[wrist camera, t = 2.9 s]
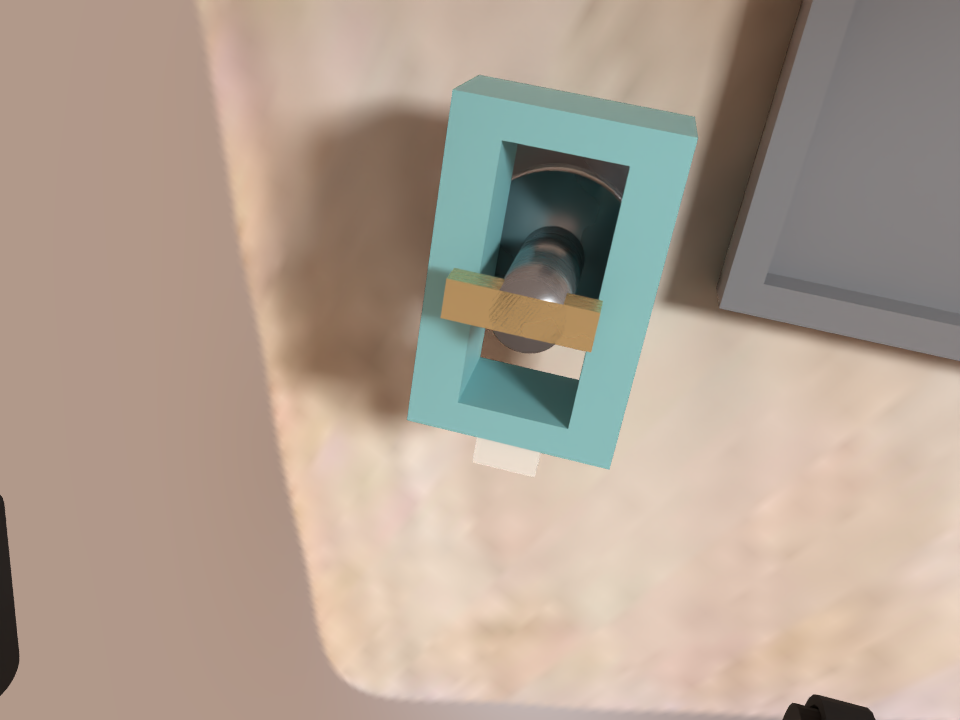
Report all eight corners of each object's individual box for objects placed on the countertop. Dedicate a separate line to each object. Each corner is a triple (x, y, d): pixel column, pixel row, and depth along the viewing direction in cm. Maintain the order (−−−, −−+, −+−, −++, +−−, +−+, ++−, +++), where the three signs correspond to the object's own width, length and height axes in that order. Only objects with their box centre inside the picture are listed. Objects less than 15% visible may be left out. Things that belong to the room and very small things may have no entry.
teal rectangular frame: (478, 74, 22) (452, 89, 20) (694, 116, 22) (698, 137, 19) (428, 407, 27) (401, 456, 24) (607, 450, 26) (599, 506, 23)
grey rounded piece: (686, 147, 25) (692, 219, 18) (637, 331, 28) (626, 457, 21) (488, 108, 26) (418, 162, 19) (459, 291, 29) (387, 400, 21)
